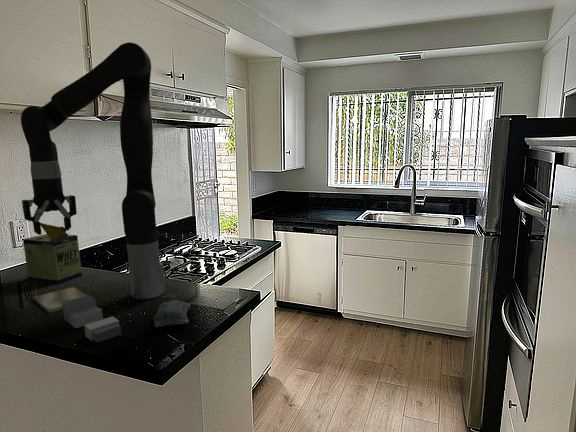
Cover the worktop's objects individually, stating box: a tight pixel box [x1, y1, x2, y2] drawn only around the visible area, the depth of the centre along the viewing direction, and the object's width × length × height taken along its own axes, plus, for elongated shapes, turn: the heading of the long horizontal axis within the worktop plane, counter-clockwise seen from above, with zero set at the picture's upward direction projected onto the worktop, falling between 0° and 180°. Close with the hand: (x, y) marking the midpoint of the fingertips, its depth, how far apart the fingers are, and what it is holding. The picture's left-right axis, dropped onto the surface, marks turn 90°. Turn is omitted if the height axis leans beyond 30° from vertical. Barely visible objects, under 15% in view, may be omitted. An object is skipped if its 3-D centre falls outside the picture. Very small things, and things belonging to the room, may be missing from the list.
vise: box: [62, 294, 122, 343], centre depth 108 cm, size 7×22×5 cm, turn 45°
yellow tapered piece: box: [40, 222, 69, 243], centre depth 124 cm, size 5×5×10 cm
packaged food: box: [152, 299, 192, 328], centre depth 109 cm, size 9×12×5 cm
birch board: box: [33, 286, 87, 314], centre depth 128 cm, size 12×16×1 cm
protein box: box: [22, 233, 83, 285], centre depth 150 cm, size 10×16×16 cm
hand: (53, 232), depth 123 cm, fingers closed on yellow tapered piece, 7 cm apart
